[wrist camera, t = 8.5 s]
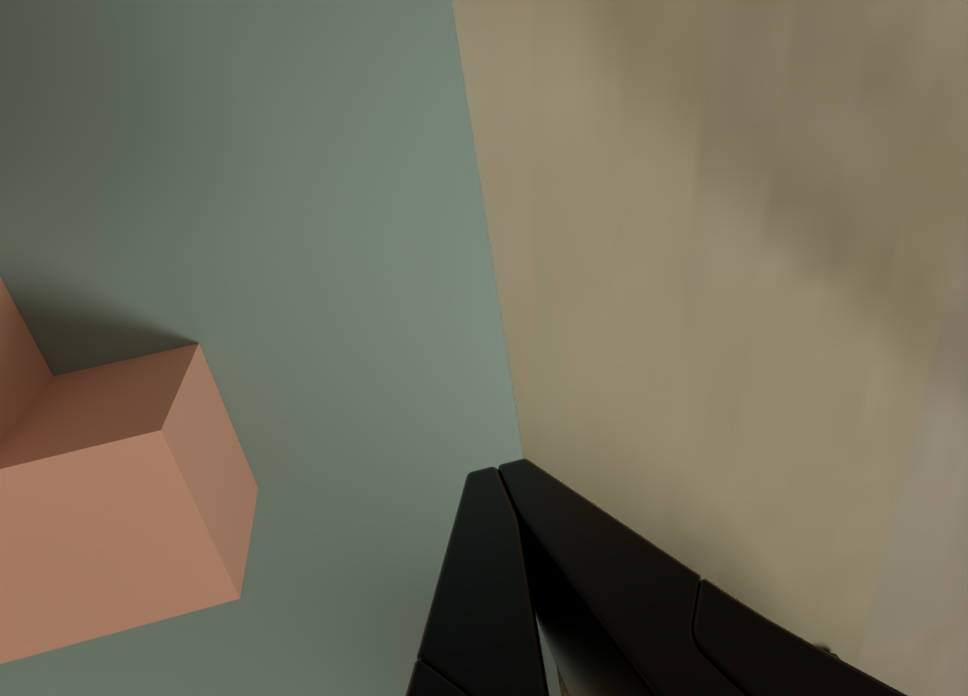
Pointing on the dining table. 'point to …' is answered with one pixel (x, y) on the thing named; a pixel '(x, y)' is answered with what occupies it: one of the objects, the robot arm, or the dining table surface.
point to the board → (268, 304)
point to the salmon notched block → (113, 494)
